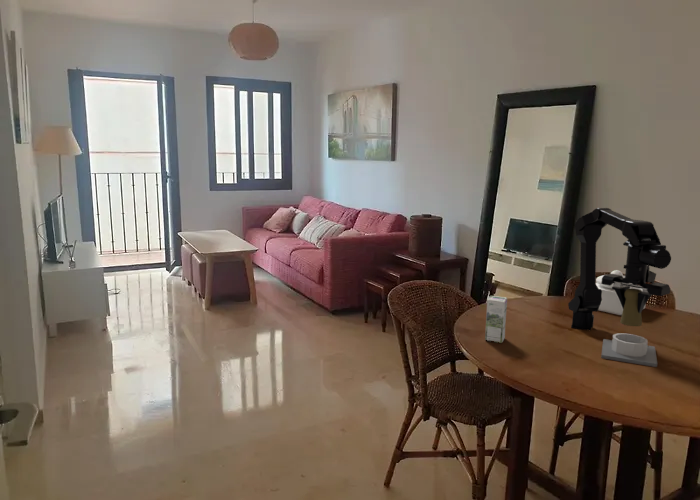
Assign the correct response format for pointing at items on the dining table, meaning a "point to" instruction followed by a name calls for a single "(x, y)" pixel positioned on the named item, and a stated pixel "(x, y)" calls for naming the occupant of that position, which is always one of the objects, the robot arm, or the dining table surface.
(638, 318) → the cork
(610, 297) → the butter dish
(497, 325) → the syrup box
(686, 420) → the dining table surface
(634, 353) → the cup stand
